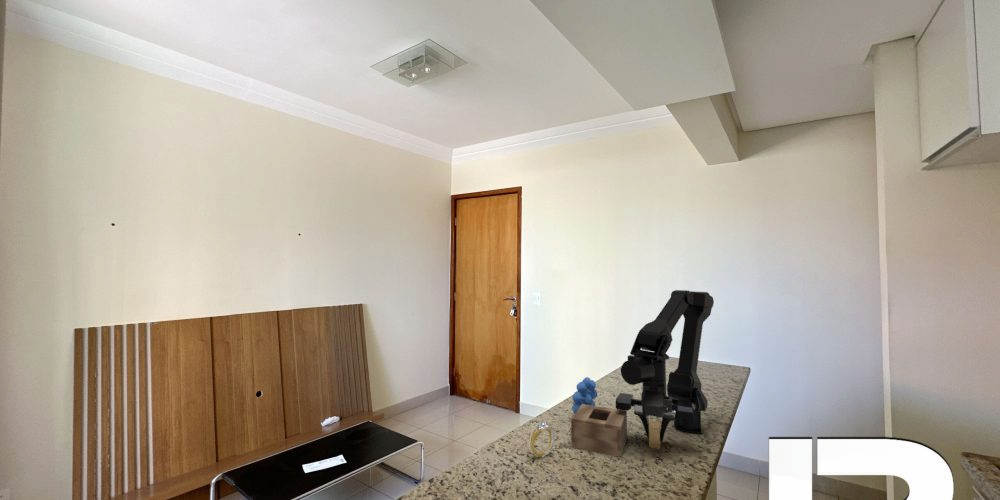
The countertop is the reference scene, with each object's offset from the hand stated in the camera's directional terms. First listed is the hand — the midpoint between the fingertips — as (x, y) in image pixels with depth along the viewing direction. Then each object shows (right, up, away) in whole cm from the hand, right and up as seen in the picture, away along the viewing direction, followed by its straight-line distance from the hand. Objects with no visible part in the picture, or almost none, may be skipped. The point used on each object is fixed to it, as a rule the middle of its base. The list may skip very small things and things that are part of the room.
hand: (655, 440), depth 99 cm
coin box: (-14, -1, +1) cm, 14 cm away
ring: (-30, -1, -7) cm, 31 cm away
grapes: (-15, -2, +18) cm, 23 cm away
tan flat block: (0, -1, 0) cm, 1 cm away
